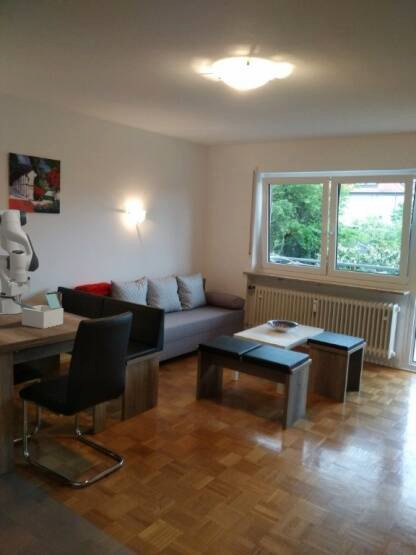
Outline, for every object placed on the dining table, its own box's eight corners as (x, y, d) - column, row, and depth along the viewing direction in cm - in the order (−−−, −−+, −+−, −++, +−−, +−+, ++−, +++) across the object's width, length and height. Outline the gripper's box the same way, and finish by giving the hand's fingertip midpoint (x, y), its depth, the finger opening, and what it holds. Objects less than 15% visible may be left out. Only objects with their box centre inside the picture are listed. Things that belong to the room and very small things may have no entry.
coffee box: (53, 314, 305) (54, 291, 303) (62, 315, 304) (62, 292, 302) (46, 316, 296) (46, 293, 294) (55, 317, 295) (55, 293, 293)
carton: (20, 324, 272) (20, 308, 271) (41, 319, 287) (41, 304, 286) (43, 328, 264) (43, 312, 263) (63, 323, 279) (64, 308, 278)
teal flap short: (50, 308, 269) (44, 295, 270) (59, 307, 276) (54, 293, 277) (50, 308, 268) (45, 295, 269) (60, 306, 276) (55, 293, 277)
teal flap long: (24, 307, 270) (13, 302, 262) (24, 306, 270) (13, 301, 262) (36, 309, 265) (25, 304, 258) (36, 308, 266) (26, 303, 258)
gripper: (13, 280, 247) (13, 305, 248) (32, 276, 267) (32, 299, 268) (2, 280, 247) (2, 304, 249) (22, 276, 268) (22, 298, 269)
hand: (18, 301), depth 259 cm, fingers closed
